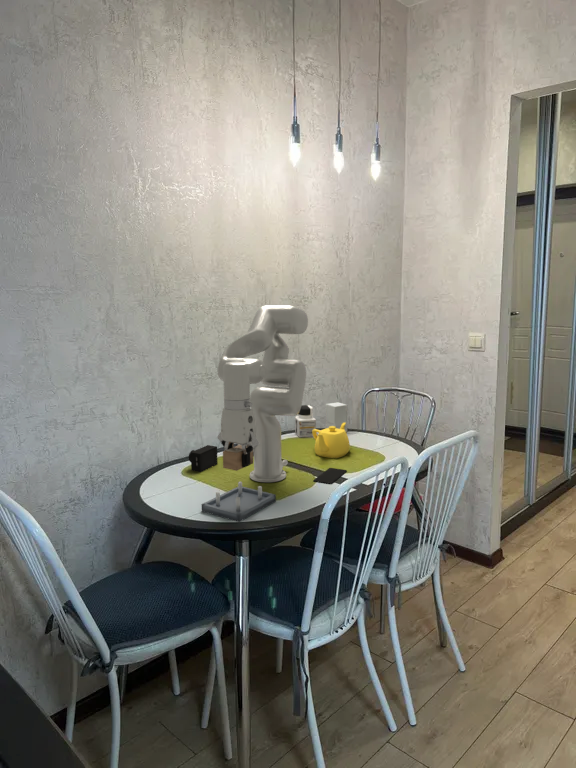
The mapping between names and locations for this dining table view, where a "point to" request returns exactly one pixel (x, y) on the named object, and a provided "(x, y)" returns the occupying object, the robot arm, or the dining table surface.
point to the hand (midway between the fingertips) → (238, 463)
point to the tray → (238, 503)
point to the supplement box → (336, 415)
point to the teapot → (331, 442)
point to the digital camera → (203, 458)
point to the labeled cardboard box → (234, 458)
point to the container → (305, 422)
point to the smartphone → (330, 476)
